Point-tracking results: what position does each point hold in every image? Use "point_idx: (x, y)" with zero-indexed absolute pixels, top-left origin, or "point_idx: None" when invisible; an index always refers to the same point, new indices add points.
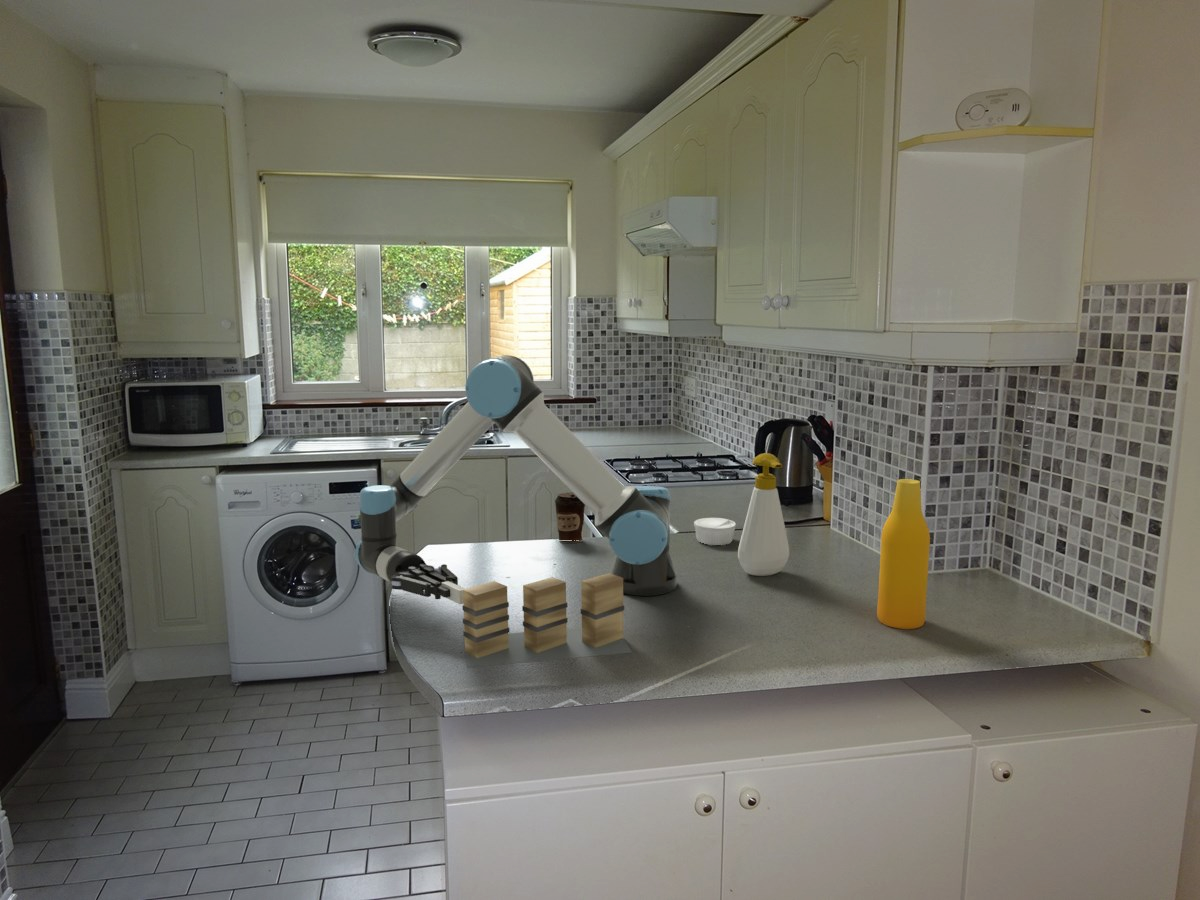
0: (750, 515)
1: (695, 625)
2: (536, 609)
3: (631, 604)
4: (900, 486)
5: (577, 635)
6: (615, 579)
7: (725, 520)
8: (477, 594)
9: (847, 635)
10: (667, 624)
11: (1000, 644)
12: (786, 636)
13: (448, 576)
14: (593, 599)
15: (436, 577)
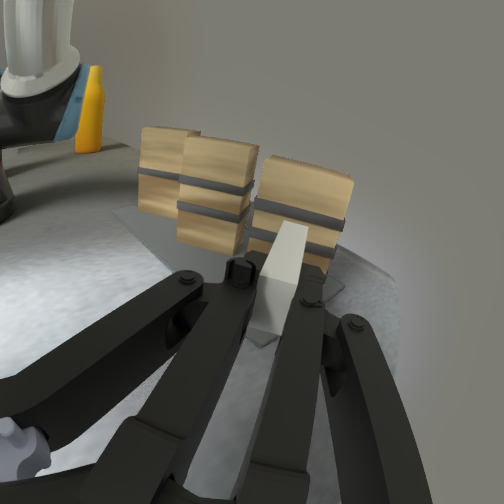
0: None
1: (100, 183)
2: (253, 176)
3: (36, 214)
4: (99, 68)
5: (160, 225)
6: (166, 127)
7: None
8: (344, 173)
9: (111, 156)
10: (100, 192)
11: (116, 143)
12: (117, 164)
13: (162, 320)
14: None
15: (223, 363)
